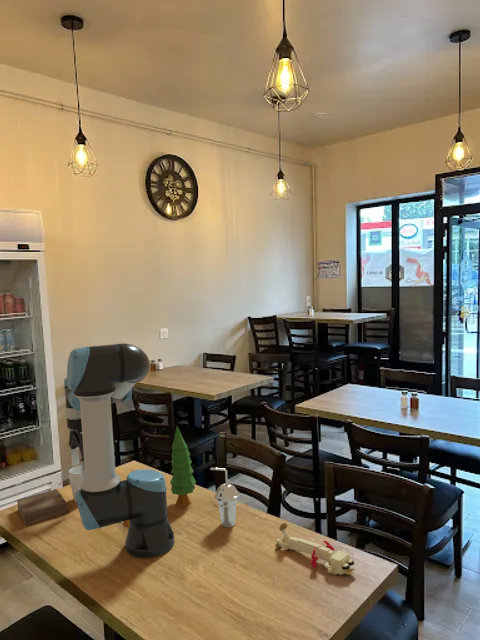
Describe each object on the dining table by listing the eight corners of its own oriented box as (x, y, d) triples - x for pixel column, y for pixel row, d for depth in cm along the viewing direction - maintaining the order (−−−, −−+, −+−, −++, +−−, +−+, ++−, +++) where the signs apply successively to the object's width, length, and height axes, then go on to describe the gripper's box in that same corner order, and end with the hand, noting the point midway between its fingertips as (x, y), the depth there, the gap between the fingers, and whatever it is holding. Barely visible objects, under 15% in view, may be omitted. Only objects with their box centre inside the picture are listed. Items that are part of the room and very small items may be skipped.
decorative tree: (166, 506, 174) (162, 427, 171) (179, 495, 183) (175, 419, 180) (189, 510, 170) (185, 429, 168) (201, 498, 179) (197, 421, 176)
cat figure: (271, 556, 143) (344, 584, 126) (268, 528, 143) (341, 551, 125) (291, 542, 150) (362, 566, 133) (288, 515, 150) (359, 535, 133)
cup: (87, 505, 178) (85, 474, 176) (66, 504, 179) (63, 473, 178) (99, 494, 186) (97, 464, 185) (78, 493, 188) (76, 464, 187)
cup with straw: (235, 532, 155) (232, 473, 153) (210, 527, 158) (207, 469, 156) (244, 519, 162) (242, 463, 161) (220, 515, 166) (217, 460, 164)
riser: (67, 512, 173) (66, 502, 172) (25, 525, 164) (24, 514, 164) (57, 498, 184) (56, 488, 184) (18, 510, 176) (17, 499, 176)
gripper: (97, 422, 172) (101, 478, 174) (77, 407, 192) (80, 457, 194) (76, 427, 168) (81, 484, 170) (58, 411, 188) (62, 462, 190)
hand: (81, 470), depth 182 cm, fingers open, 13 cm apart
